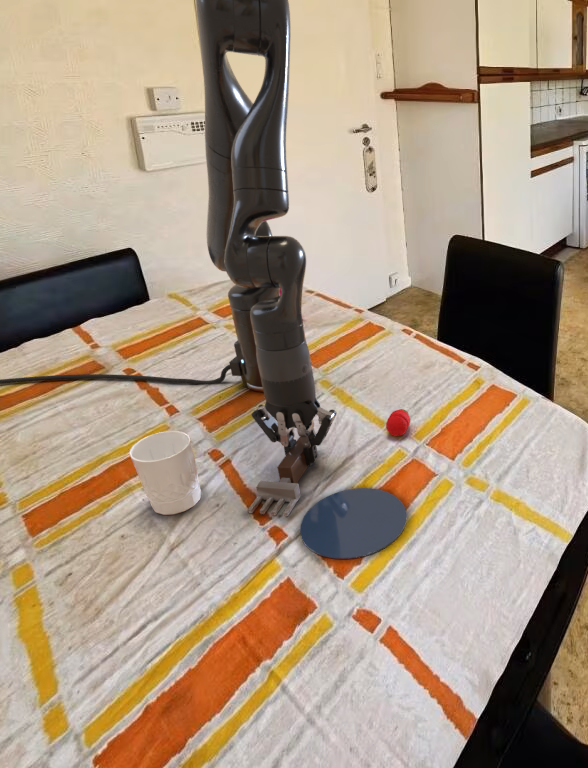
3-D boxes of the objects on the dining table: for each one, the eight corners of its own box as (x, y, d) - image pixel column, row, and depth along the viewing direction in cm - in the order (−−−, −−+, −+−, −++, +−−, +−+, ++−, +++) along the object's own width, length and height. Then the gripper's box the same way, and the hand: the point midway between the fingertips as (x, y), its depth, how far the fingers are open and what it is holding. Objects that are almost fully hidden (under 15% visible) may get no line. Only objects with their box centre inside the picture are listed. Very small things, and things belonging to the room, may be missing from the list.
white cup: (186, 478, 99) (170, 425, 94) (216, 496, 95) (201, 441, 90) (137, 505, 93) (118, 449, 88) (167, 525, 89) (148, 468, 84)
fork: (293, 452, 105) (290, 434, 103) (327, 454, 104) (324, 436, 103) (248, 513, 91) (243, 493, 89) (287, 516, 90) (283, 497, 89)
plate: (282, 553, 84) (282, 552, 84) (323, 485, 97) (323, 484, 97) (390, 564, 82) (390, 563, 82) (417, 493, 95) (417, 492, 95)
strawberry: (384, 439, 108) (382, 420, 107) (392, 422, 113) (391, 404, 111) (405, 441, 108) (403, 422, 106) (413, 424, 113) (411, 406, 111)
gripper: (338, 360, 96) (351, 452, 104) (254, 354, 98) (272, 446, 106) (320, 382, 90) (335, 479, 98) (229, 377, 91) (252, 472, 99)
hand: (302, 462), depth 102 cm, fingers closed on fork, 2 cm apart
